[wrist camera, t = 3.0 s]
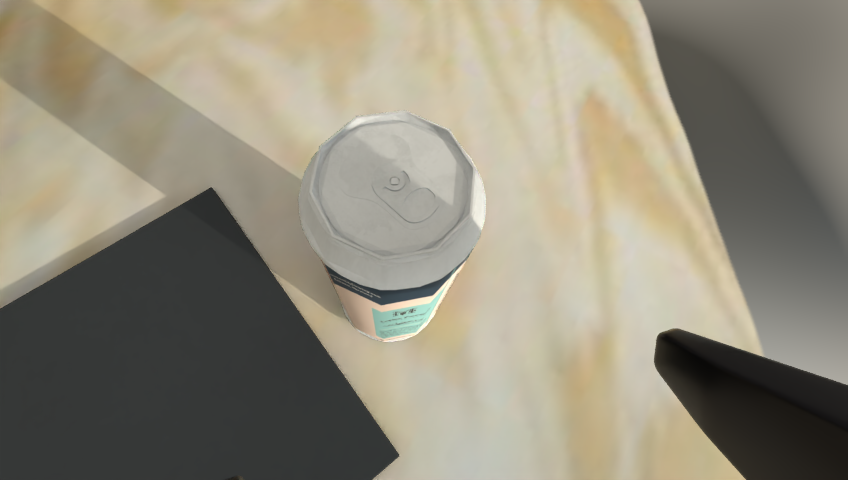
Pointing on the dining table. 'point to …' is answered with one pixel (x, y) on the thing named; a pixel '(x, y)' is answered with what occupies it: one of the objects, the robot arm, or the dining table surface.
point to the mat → (176, 368)
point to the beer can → (392, 218)
